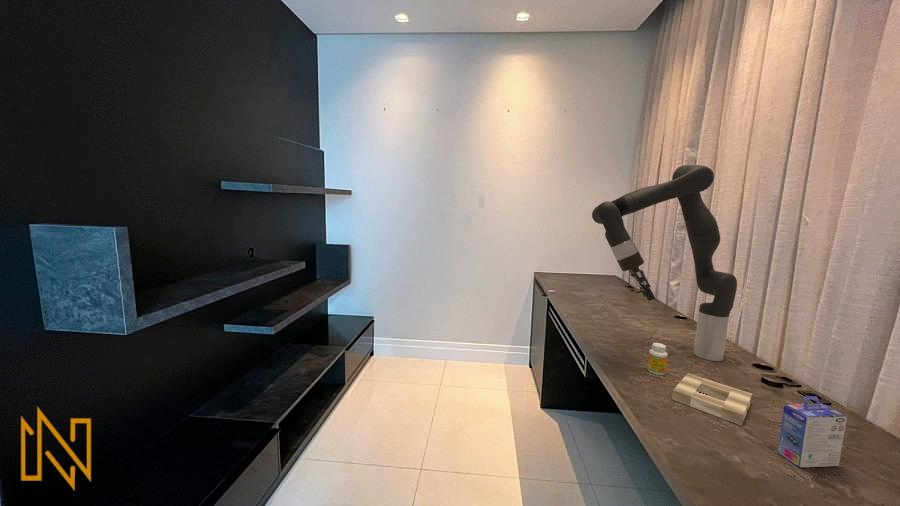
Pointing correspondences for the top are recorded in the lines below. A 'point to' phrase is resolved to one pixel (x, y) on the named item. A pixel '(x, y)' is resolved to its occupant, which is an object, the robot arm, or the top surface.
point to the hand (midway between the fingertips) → (649, 297)
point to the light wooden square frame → (728, 409)
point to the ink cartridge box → (812, 434)
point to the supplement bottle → (657, 359)
